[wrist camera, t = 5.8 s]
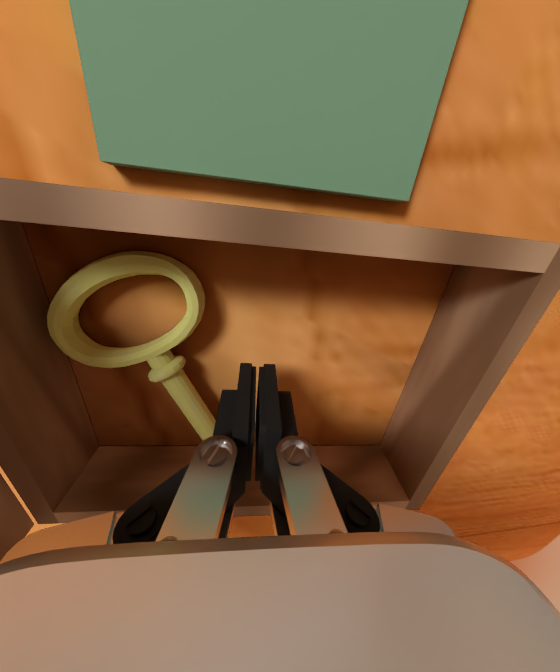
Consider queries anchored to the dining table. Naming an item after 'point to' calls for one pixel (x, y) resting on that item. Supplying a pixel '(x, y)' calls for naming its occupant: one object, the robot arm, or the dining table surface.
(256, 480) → the robot arm
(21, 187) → the case
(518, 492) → the dining table surface
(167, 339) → the key
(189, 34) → the pad
